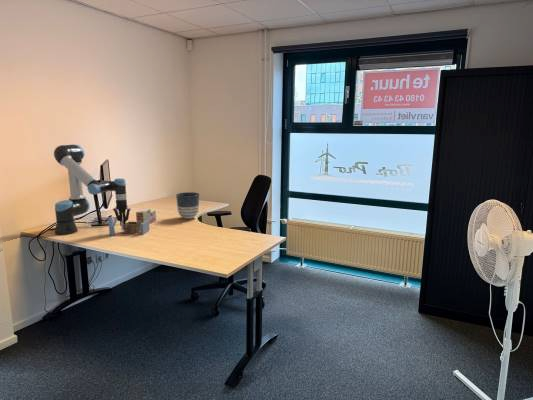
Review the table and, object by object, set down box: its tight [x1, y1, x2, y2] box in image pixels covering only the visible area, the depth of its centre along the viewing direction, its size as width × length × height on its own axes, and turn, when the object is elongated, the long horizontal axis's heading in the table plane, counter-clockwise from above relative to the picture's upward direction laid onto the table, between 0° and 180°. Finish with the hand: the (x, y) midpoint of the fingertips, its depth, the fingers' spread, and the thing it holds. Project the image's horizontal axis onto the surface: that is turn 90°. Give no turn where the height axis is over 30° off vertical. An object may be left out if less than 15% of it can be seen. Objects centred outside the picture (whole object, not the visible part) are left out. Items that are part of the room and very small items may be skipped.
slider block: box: [123, 221, 141, 235], centre depth 282 cm, size 9×9×7 cm
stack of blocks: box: [135, 208, 157, 225], centre depth 307 cm, size 21×6×12 cm, turn 170°
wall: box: [140, 220, 150, 236], centre depth 281 cm, size 2×12×8 cm, turn 176°
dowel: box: [107, 216, 116, 237], centre depth 272 cm, size 4×4×14 cm
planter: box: [175, 191, 200, 220], centre depth 324 cm, size 20×20×21 cm
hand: (123, 229), depth 283 cm, fingers closed
